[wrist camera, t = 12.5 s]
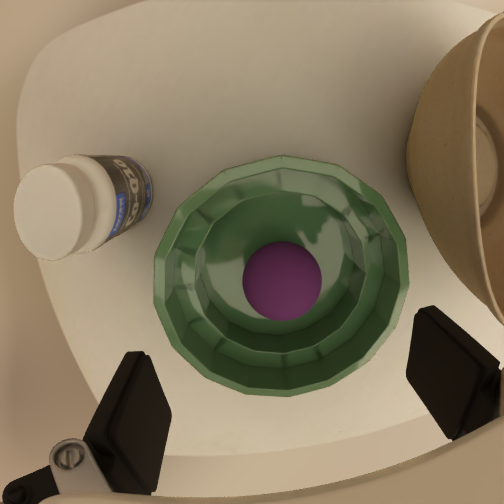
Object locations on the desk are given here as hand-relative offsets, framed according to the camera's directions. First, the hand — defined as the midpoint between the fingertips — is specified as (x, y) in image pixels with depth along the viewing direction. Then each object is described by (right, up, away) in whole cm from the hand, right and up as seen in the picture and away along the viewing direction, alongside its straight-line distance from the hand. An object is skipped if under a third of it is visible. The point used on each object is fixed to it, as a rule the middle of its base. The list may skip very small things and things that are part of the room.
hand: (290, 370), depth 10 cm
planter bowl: (+13, +11, +8) cm, 19 cm away
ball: (0, +2, +7) cm, 8 cm away
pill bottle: (-10, +8, +9) cm, 15 cm away
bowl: (0, +3, +10) cm, 10 cm away
